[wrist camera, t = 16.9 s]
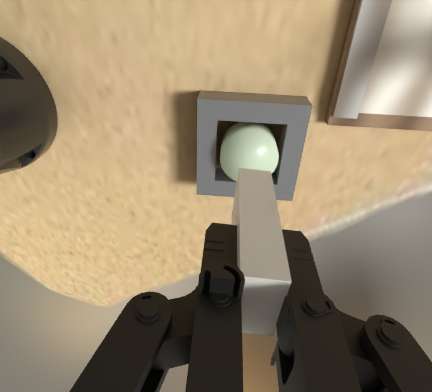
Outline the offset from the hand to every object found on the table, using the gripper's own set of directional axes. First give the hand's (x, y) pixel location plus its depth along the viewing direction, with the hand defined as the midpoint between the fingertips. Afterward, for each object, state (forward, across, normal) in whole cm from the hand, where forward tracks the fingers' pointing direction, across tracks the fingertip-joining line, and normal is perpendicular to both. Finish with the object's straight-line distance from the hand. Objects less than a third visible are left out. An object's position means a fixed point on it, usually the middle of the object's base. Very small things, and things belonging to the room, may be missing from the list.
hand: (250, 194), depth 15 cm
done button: (+19, +1, -6) cm, 20 cm away
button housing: (+20, +1, -6) cm, 21 cm away
